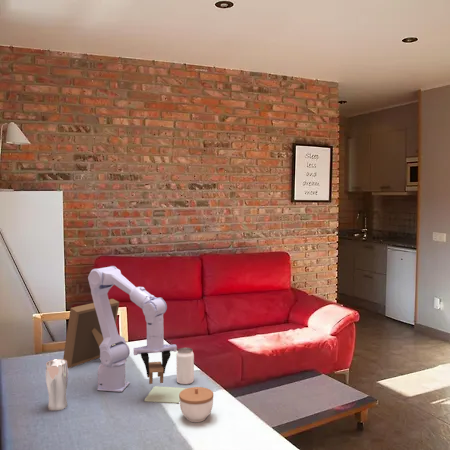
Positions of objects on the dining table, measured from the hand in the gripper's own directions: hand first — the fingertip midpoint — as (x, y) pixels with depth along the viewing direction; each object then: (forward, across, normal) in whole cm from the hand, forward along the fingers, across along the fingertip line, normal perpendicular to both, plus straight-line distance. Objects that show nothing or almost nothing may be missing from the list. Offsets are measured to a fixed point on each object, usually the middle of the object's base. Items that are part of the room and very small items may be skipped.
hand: (155, 373), depth 161 cm
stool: (+2, 0, 0) cm, 2 cm away
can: (+9, +13, +12) cm, 20 cm away
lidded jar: (+9, +11, -17) cm, 22 cm away
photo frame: (+9, -20, +43) cm, 48 cm away
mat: (+9, +4, +2) cm, 10 cm away
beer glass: (+9, -32, +2) cm, 33 cm away
